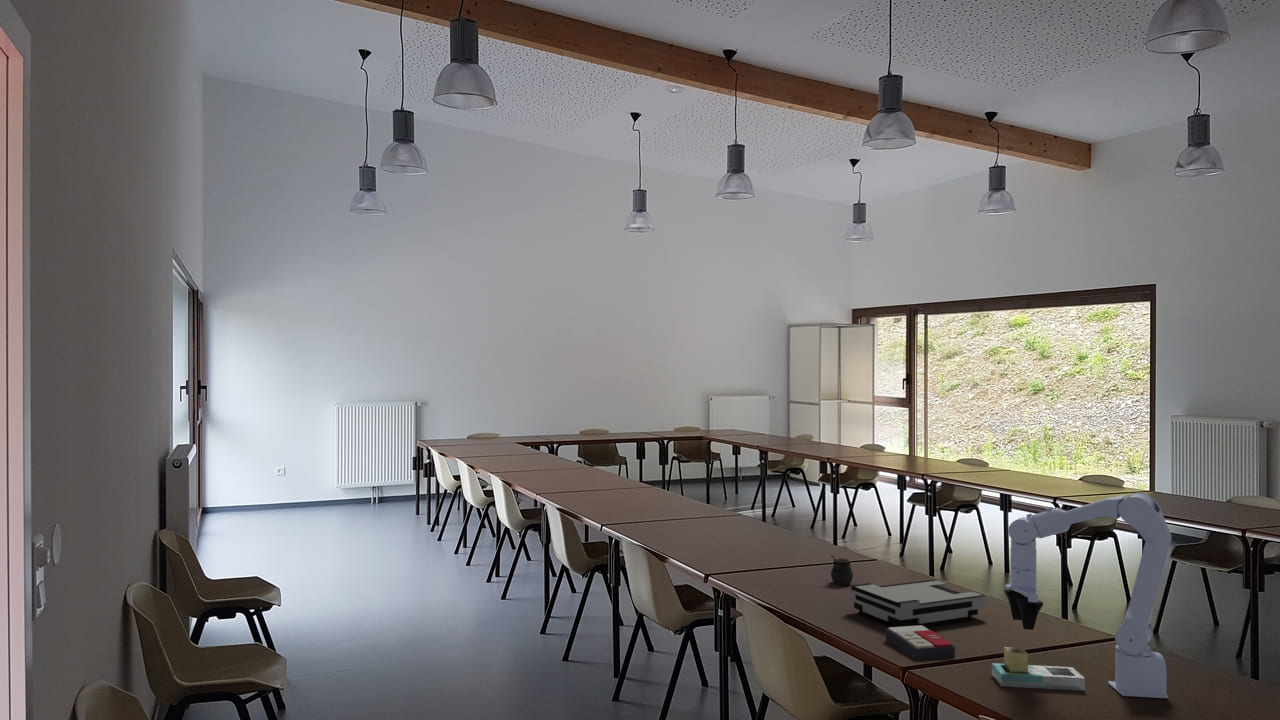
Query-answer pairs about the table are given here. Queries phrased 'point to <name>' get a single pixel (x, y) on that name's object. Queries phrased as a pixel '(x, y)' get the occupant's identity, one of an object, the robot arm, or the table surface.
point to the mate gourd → (841, 571)
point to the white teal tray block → (1040, 677)
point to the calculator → (919, 642)
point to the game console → (916, 603)
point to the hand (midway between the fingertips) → (1022, 624)
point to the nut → (1015, 660)
